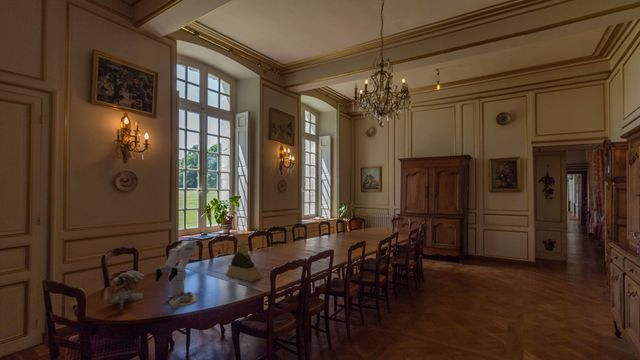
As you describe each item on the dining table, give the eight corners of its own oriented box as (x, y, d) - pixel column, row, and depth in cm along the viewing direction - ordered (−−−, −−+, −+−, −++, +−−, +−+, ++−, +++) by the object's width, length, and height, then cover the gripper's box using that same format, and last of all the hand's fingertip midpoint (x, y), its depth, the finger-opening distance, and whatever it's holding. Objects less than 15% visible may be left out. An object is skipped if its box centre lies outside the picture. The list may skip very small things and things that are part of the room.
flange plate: (176, 297, 213) (176, 295, 213) (200, 297, 213) (200, 295, 213) (164, 306, 197) (164, 304, 197) (191, 306, 197) (191, 304, 197)
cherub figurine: (122, 293, 219) (122, 267, 220) (149, 293, 221) (149, 266, 221) (106, 303, 202) (107, 274, 202) (136, 302, 203) (137, 273, 203)
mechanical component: (110, 311, 189) (111, 294, 189) (130, 306, 196) (130, 290, 196) (112, 312, 187) (112, 295, 187) (132, 308, 194) (132, 291, 194)
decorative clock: (262, 277, 259) (262, 239, 259) (250, 281, 248) (250, 242, 248) (238, 272, 275) (238, 236, 275) (226, 275, 264) (226, 238, 264)
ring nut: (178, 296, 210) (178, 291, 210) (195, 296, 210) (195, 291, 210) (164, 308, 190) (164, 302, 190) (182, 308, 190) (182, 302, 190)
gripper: (157, 259, 204) (148, 276, 192) (180, 258, 204) (173, 275, 193) (160, 267, 208) (152, 284, 196) (183, 266, 208) (176, 283, 197)
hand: (163, 280), depth 195 cm, fingers open, 7 cm apart
